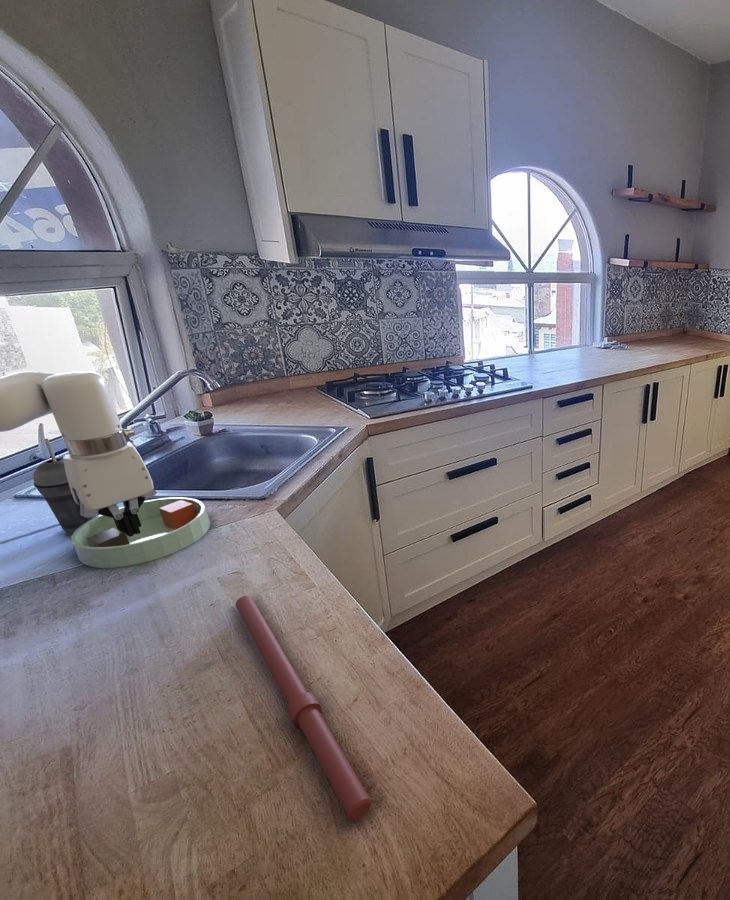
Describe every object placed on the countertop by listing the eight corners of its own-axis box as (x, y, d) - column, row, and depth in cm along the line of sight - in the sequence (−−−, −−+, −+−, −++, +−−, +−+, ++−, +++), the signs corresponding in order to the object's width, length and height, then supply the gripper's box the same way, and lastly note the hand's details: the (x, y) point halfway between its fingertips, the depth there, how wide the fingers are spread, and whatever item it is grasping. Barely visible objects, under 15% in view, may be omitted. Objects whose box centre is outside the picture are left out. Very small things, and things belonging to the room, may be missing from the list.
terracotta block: (176, 530, 100) (170, 512, 98) (164, 525, 101) (158, 508, 100) (198, 521, 103) (192, 503, 102) (186, 516, 105) (180, 499, 103)
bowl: (108, 583, 85) (99, 560, 83) (61, 550, 93) (52, 529, 91) (230, 531, 101) (224, 512, 99) (181, 507, 109) (175, 489, 107)
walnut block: (106, 562, 89) (98, 543, 88) (93, 557, 91) (85, 538, 89) (132, 551, 93) (125, 532, 91) (120, 546, 94) (113, 527, 92)
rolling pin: (378, 809, 52) (374, 789, 51) (347, 832, 50) (342, 812, 49) (257, 605, 81) (253, 589, 80) (234, 614, 79) (229, 598, 78)
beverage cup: (100, 518, 104) (64, 428, 96) (114, 528, 101) (78, 436, 93) (51, 534, 98) (9, 439, 91) (64, 545, 95) (21, 448, 87)
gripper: (139, 427, 95) (168, 511, 102) (28, 452, 83) (70, 546, 90) (159, 434, 92) (187, 520, 99) (47, 462, 80) (89, 558, 87)
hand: (131, 532), depth 94 cm, fingers closed
